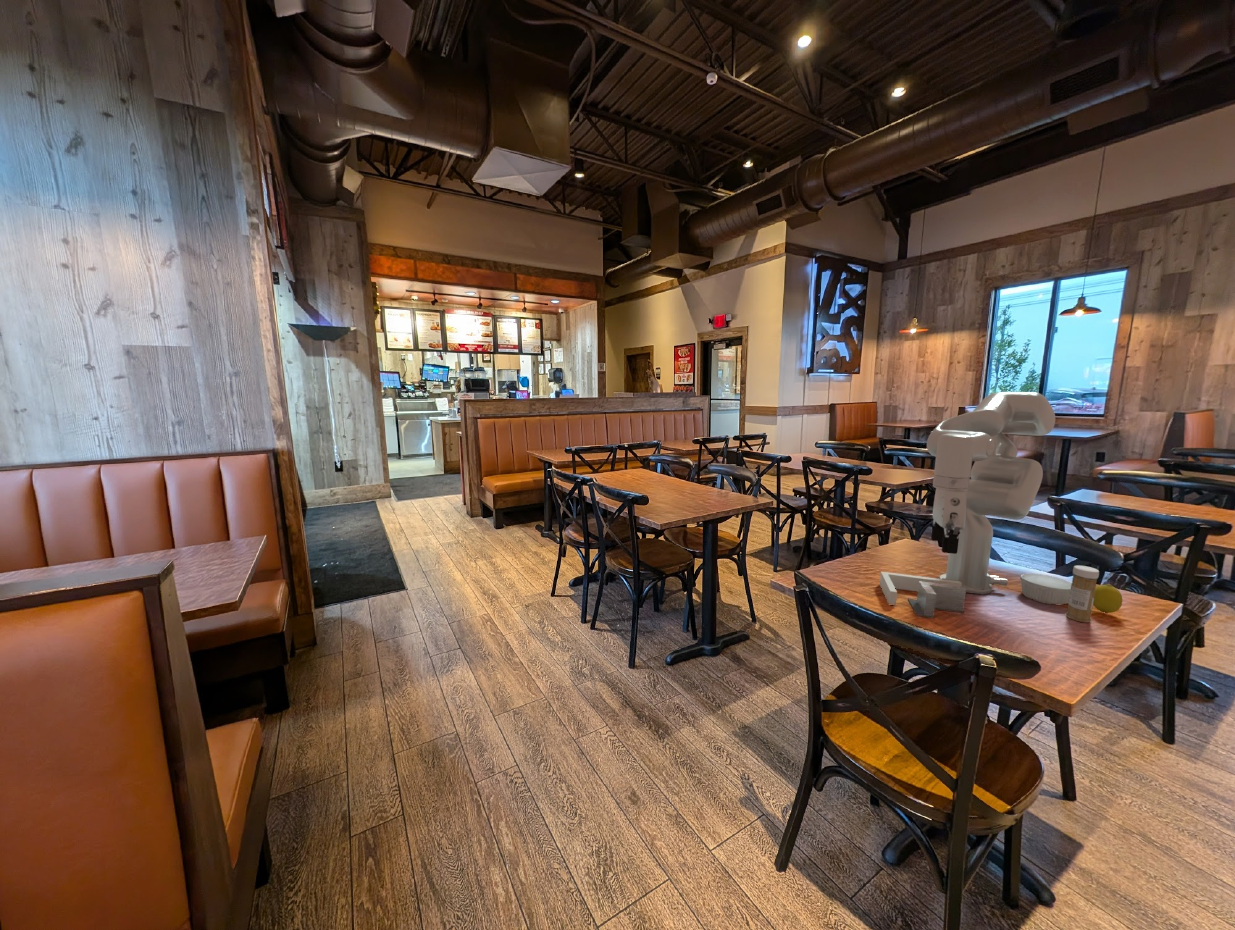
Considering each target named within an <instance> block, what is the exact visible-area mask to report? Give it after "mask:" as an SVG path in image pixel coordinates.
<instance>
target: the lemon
mask: <svg viewBox="0 0 1235 930" xmlns="http://www.w3.org/2000/svg"><path fill="white" fill-rule="evenodd" d="M1122 605H1123V595H1122V593H1121V592H1120V590H1119V589H1118V588H1117V587H1114V586H1113V585H1112V584H1109V583H1108V584H1102V585H1098V586H1096V588H1095V594H1094V602H1093V607H1094V608H1095V609H1096V610H1098V611H1100V612H1101V613H1102V612H1105V613H1107V614H1108V613H1109V614H1110V613H1115V612H1117V611H1119V610H1120V609H1121V607H1122Z"/></svg>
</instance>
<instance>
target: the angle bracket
mask: <svg viewBox="0 0 1235 930" xmlns="http://www.w3.org/2000/svg"><path fill="white" fill-rule="evenodd" d="M966 593H967V592H966V589H965V588H964V587H962V586H954V585H947V584H939V583H931V582H923V581H919V586H918V591H917V594H916V595H917V596H916V600H917V604H918V605H919V607H920V609H921V611H922V612H923V614H924V615H926V616H935V609H934V608H942V609H949V610H956V611H963V610H964V607H965V600H966Z"/></svg>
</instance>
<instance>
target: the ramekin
mask: <svg viewBox="0 0 1235 930" xmlns="http://www.w3.org/2000/svg"><path fill="white" fill-rule="evenodd" d="M1019 579H1020V582H1021V583H1020V584H1021V585H1020V586H1021V592H1022V594H1023V596H1025V598H1028V599H1030V600H1032V599H1033V601H1035V602H1038V601H1039V602H1038V603H1041V602H1042V603H1043V604H1045V603H1048V604H1047V605H1051V604H1065V605H1066V604H1068V601H1069V595H1070V590H1071V584H1072V582H1071V581H1068V580H1066V579H1063V578H1059V577H1056V576H1052V575H1048V574H1044V573H1043V574H1041V573H1030V572H1029V573H1023V574H1021V575H1020V577H1019Z"/></svg>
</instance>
